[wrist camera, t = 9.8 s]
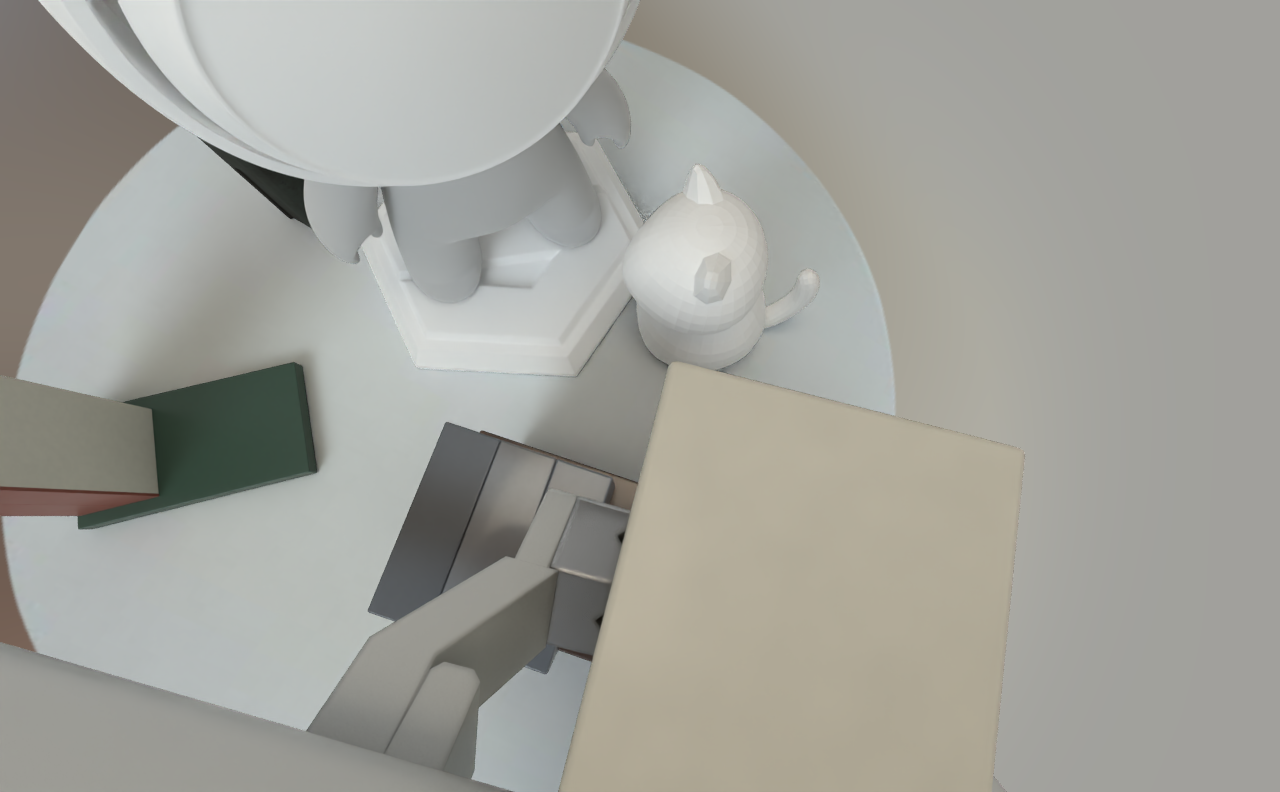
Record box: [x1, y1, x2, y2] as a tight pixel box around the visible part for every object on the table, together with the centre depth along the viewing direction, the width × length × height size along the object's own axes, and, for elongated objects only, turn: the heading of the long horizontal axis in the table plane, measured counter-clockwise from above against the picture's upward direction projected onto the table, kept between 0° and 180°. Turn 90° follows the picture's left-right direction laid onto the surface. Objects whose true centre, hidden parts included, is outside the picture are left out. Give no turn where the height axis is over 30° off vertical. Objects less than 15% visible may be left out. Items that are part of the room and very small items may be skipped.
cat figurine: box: [623, 164, 820, 370], centre depth 34 cm, size 9×12×15 cm
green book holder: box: [0, 362, 317, 529], centre depth 31 cm, size 8×15×15 cm, turn 105°
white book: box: [558, 361, 1025, 792], centre depth 10 cm, size 6×2×14 cm, turn 165°
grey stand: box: [368, 422, 638, 674], centre depth 30 cm, size 9×17×16 cm, turn 72°
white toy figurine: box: [38, 0, 644, 377], centre depth 25 cm, size 20×23×35 cm
